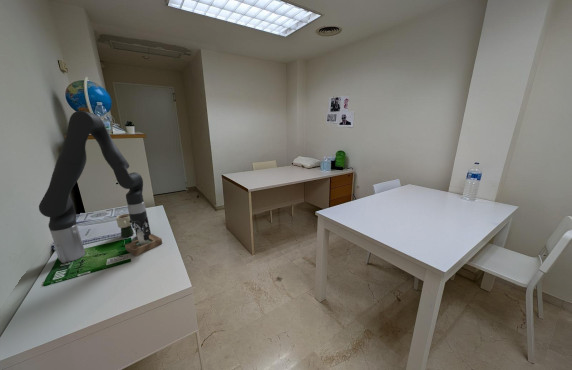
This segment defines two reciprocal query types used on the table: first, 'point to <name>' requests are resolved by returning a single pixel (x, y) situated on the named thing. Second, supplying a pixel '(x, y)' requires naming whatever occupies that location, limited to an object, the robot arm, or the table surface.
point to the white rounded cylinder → (141, 238)
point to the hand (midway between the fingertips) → (142, 237)
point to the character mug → (125, 225)
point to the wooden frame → (138, 249)
